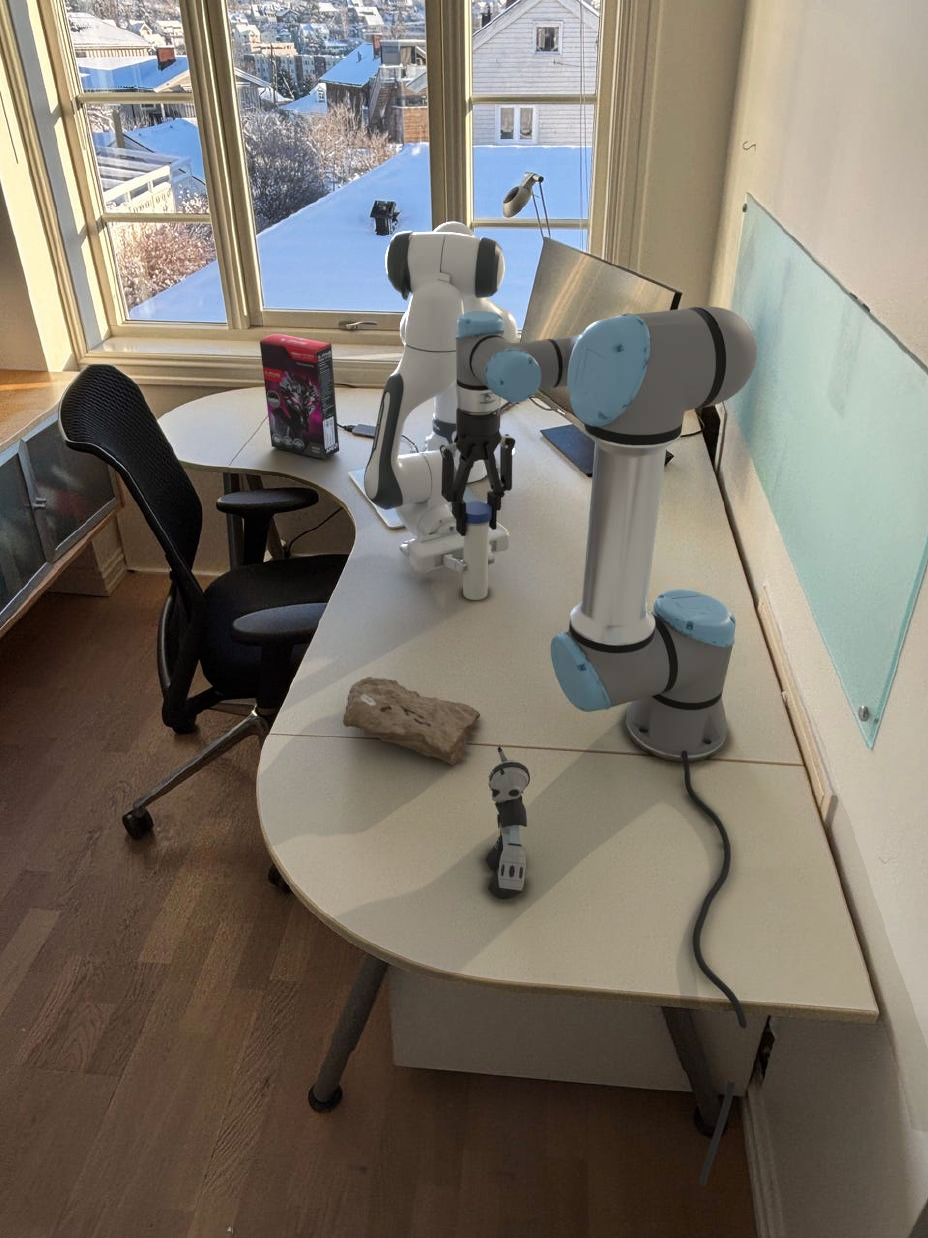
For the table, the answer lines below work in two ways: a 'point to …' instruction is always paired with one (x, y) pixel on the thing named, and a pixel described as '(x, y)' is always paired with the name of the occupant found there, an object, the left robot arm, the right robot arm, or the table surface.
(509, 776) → the robot
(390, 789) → the table surface
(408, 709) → the stone
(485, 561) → the white bottle
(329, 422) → the graphics card box
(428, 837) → the table surface
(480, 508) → the lid
